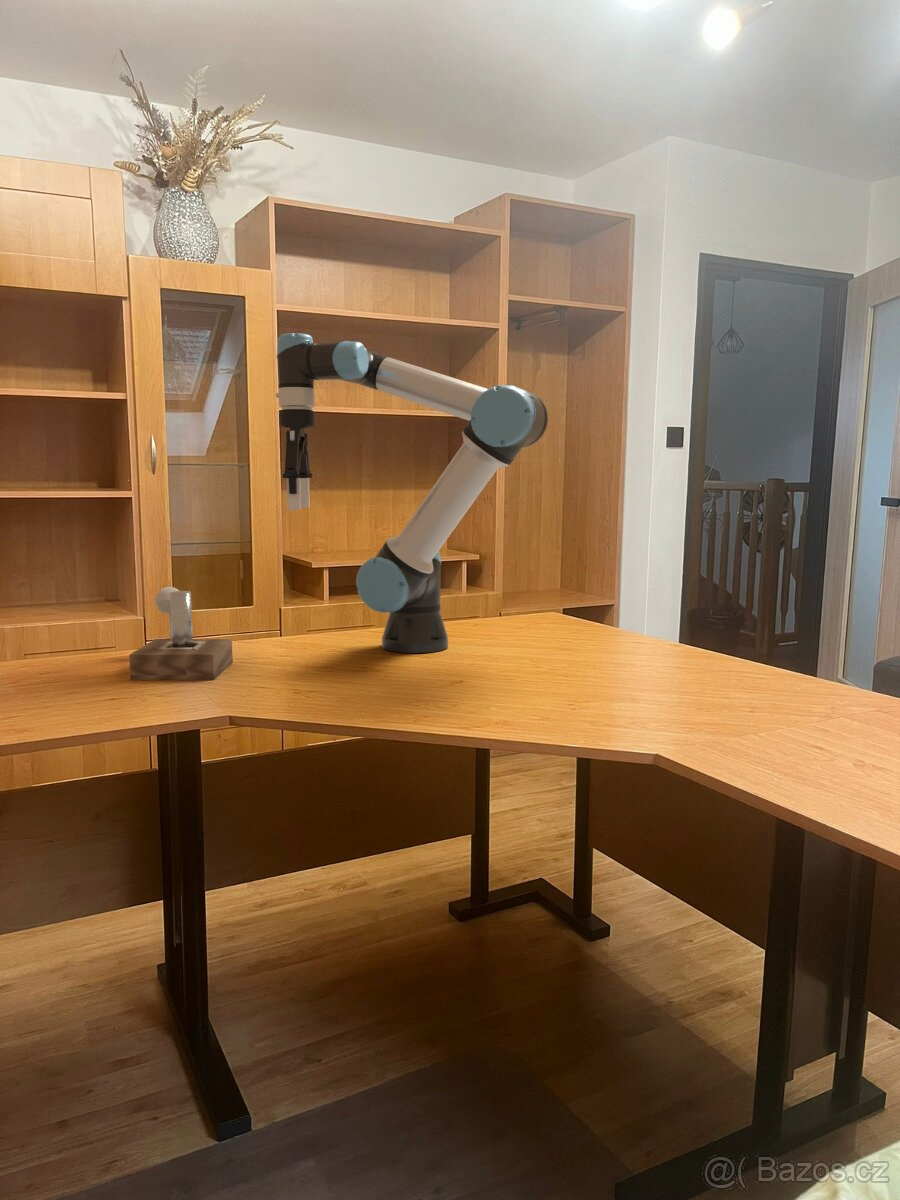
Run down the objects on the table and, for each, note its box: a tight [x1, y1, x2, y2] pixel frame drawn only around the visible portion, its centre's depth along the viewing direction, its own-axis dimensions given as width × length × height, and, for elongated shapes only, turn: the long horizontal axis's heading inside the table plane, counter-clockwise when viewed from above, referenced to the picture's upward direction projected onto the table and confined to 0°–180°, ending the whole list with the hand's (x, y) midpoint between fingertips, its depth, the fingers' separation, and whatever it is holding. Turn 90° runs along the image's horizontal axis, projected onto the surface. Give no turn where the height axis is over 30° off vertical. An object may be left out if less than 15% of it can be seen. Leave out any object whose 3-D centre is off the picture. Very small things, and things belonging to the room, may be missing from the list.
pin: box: [170, 590, 194, 648], centre depth 180 cm, size 4×4×15 cm
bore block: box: [128, 638, 234, 681], centre depth 181 cm, size 16×16×5 cm
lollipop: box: [154, 586, 180, 639], centre depth 196 cm, size 6×6×15 cm
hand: (298, 508), depth 196 cm, fingers open, 13 cm apart
